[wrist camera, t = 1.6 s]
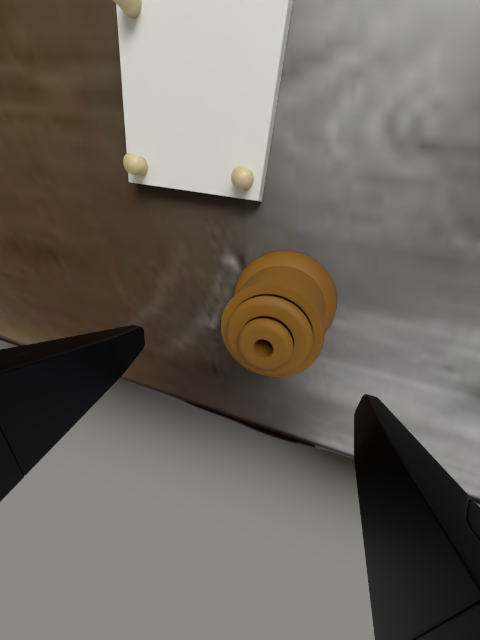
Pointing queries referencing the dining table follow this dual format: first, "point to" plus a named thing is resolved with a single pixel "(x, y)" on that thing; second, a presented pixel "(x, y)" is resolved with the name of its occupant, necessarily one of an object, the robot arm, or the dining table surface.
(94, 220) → the dining table surface
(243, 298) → the ornamental finial
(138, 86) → the base plate
